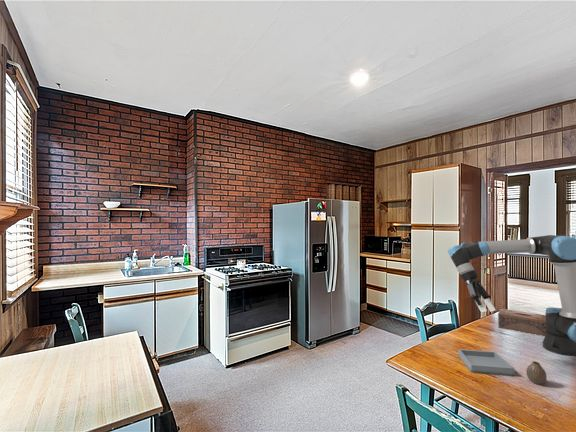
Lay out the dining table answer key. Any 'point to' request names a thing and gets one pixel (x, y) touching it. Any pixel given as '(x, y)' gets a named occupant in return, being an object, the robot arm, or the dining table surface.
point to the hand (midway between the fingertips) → (488, 311)
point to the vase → (536, 373)
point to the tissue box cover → (522, 321)
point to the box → (485, 362)
